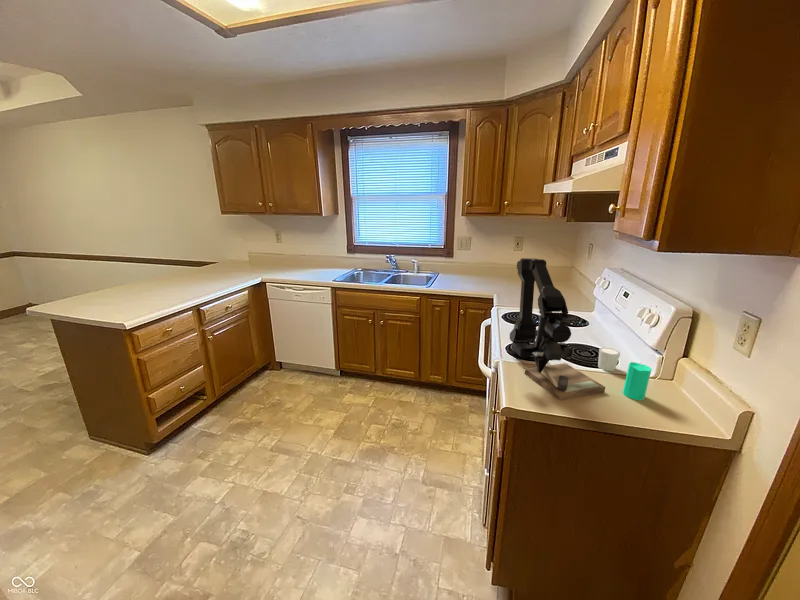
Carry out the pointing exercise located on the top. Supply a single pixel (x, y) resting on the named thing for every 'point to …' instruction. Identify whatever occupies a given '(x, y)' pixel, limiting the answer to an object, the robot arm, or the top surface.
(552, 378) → the hinged leg
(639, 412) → the top surface
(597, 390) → the stool seat
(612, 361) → the white mug
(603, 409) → the top surface
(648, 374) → the candle
